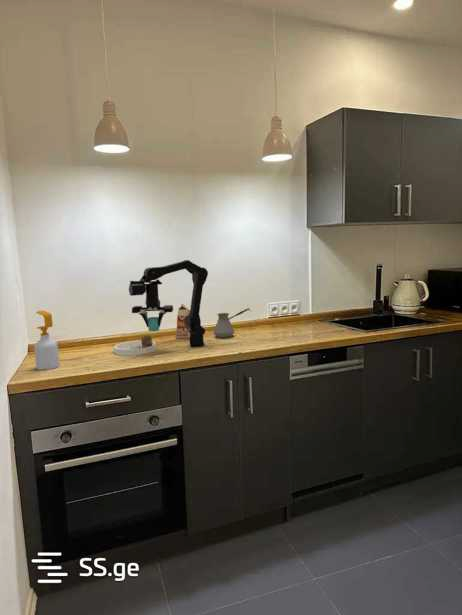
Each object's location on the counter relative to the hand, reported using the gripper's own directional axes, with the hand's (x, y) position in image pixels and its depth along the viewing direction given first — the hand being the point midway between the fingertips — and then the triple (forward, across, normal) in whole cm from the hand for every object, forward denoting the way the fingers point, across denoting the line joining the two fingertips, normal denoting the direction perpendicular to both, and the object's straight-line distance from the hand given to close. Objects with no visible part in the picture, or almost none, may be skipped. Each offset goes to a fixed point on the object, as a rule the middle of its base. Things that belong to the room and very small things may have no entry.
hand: (153, 327), depth 192 cm
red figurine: (+12, -12, -27) cm, 32 cm away
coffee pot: (+11, -38, -31) cm, 50 cm away
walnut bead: (+12, +5, -5) cm, 14 cm away
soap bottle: (+14, +43, +19) cm, 49 cm away
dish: (+12, +10, -6) cm, 17 cm away
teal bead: (+2, 0, 0) cm, 2 cm away
